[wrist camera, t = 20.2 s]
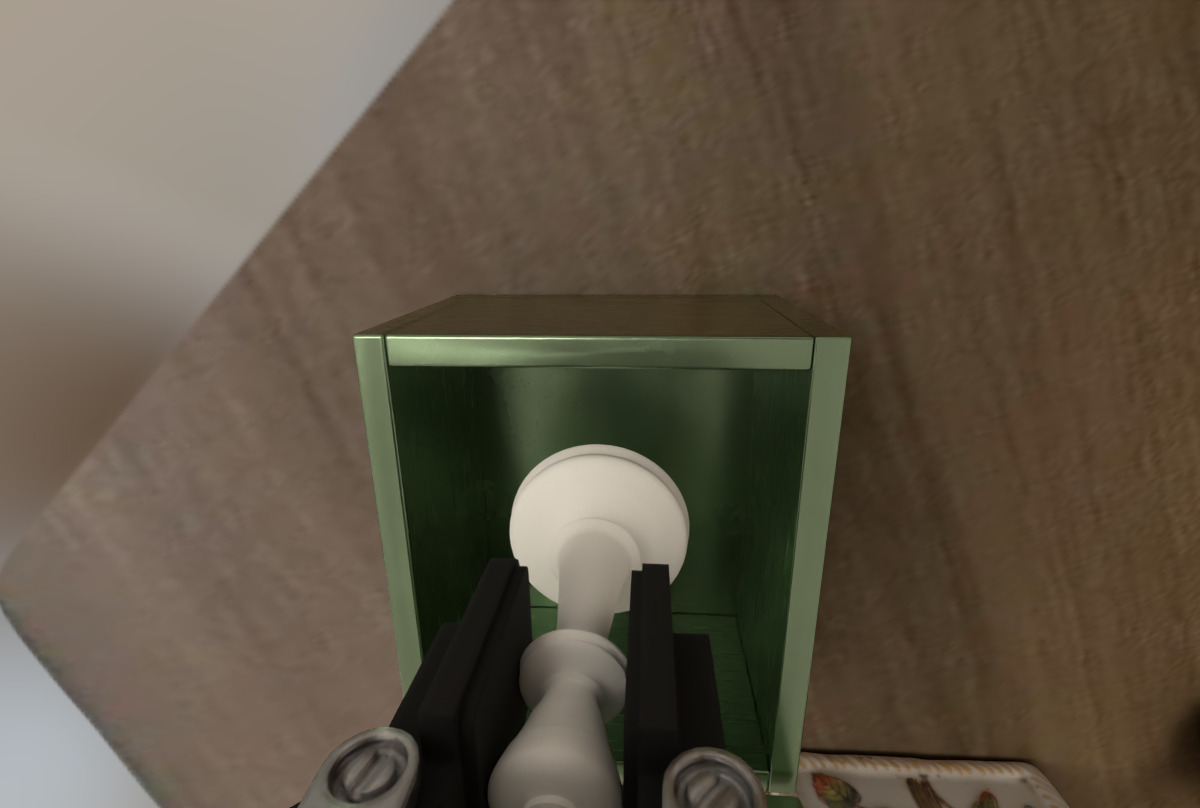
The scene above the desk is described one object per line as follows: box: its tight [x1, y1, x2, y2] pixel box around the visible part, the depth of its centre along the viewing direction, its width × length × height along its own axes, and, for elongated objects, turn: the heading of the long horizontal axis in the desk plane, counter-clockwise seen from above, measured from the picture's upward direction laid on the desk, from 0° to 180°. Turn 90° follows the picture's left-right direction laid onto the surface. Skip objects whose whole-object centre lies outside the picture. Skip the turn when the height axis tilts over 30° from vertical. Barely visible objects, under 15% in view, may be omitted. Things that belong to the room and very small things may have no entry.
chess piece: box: [487, 444, 689, 808], centre depth 11 cm, size 5×5×10 cm
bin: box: [353, 295, 852, 794], centre depth 19 cm, size 14×12×8 cm
